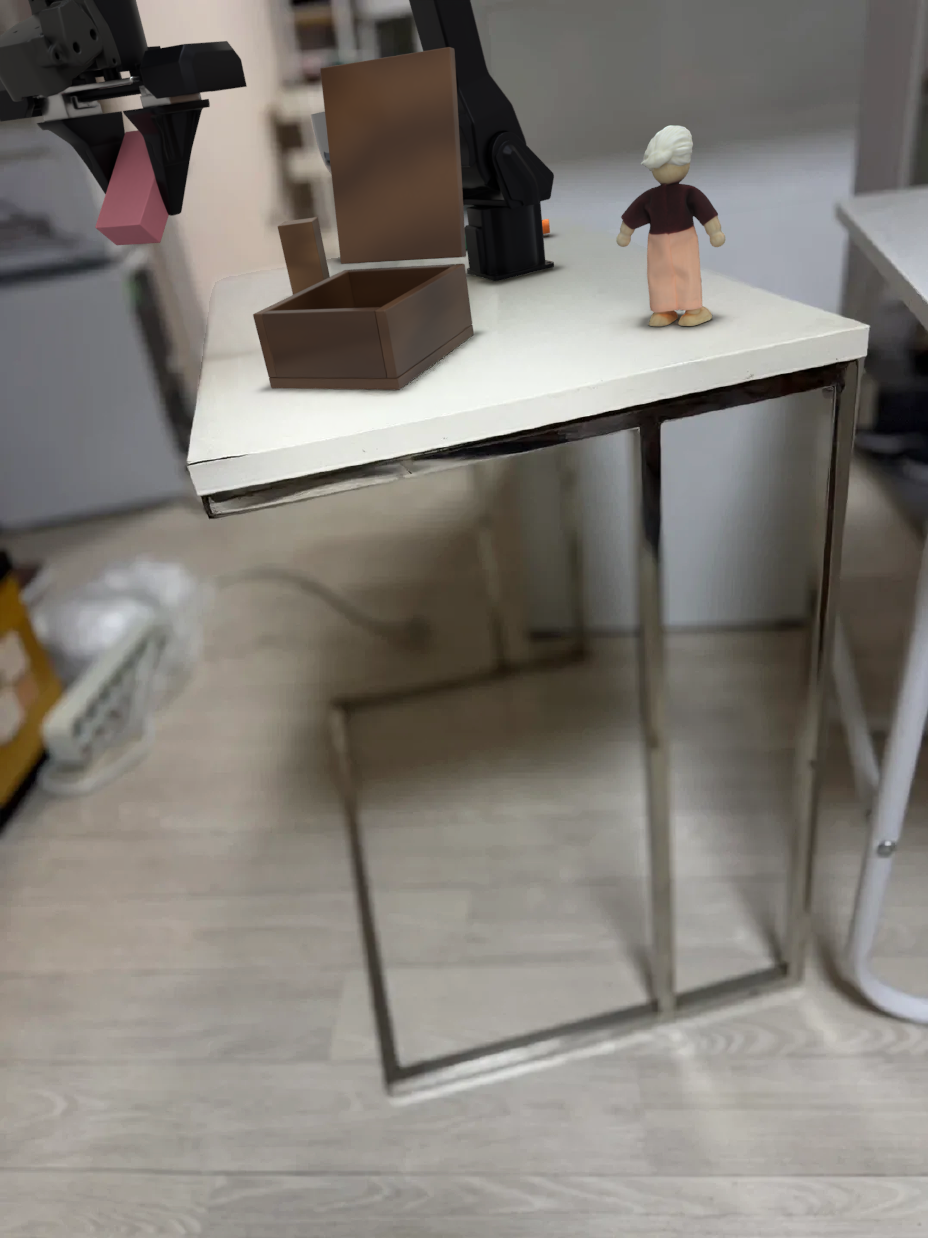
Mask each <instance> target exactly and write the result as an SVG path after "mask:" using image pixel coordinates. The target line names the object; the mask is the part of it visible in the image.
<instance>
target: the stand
mask: <svg viewBox="0 0 928 1238" xmlns="http://www.w3.org/2000/svg"><path fill="white" fill-rule="evenodd" d="M277 231H278V235H279V239H280V244H281V249H282V253H283V257H284V262H285V267H286V270H287V275H288V279H289V283H290V284H289V285H290V289H291V291H292V292H291V293H292V295H294V294H296V293H298V292H300V291H302V290H304V289H306V288H308V287H311V286H313V285H315V284H317V283H319V282H321V281H323V280H325V279H327V278H329V277H331V276H330V270H329V267H328V265H329V264H328V261H327V257H326V256H327V255H326V252H325V247H324V241H323V236H322V232H321V226H320V221H319V217H318V216H314V217H309V218H300V219H293V220H286V221H283V222H281V223H280V224H279V225H277Z"/></svg>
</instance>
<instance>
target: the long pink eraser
mask: <svg viewBox="0 0 928 1238" xmlns="http://www.w3.org/2000/svg"><path fill="white" fill-rule="evenodd" d="M169 216H170V215H168V213H167V211H166V208H165V205H164V203H163V200H162V198H161V195H160V192H159V189H158V185H157V182H156V179H155V175H154V172H153V168H152V165H151V162H150V158H149V155H148V151H147V148H146V144H145V140H144V138H143V136H142V134H141V133H140V132H139V131H138V129H136V130H130V131H125V135H124V138H123V142H122V145H121V148H120V151H119V154H118V157H117V160H116V163H115V167H114V170H113V173H112V176H111V179H110V182H109V185H108V189H107V192H106V195H105V194H104V198H103V202H102V204H101V208H100V211H99V214H98V217H97V220H96V223H95V227H94V228H95V229H96V230H97V231H98V232H99V233H100V234H102V235H103V236H105V238H107V239H108V240H109V241H111V242H112V243H113V244H114V245H115V246H129V245H147V244H149V245H150V244H161V243H162V239H163V235H164V232H165V229H166V227H167V222H168V219H169Z"/></svg>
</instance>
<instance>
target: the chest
mask: <svg viewBox="0 0 928 1238" xmlns="http://www.w3.org/2000/svg"><path fill="white" fill-rule="evenodd" d="M252 316H253V321H254V326H255V328H256V333H257V337H258V340H259V345H260V349H261V352H262V356H263V361H264V364H265V369H266V373H267V377H268V381H269V384H270V388H271V389H288V390H289V389H290V390H291V389H292V390H293V389H294V390H298V389H299V390H300V389H301V390H377V391H378V390H382V391H383V390H385V391H387V390H389V391H390V390H391V391H399V390H401V389H403V388H404V387H405V386H407V384H409V383H410V382H411V381H413V380H414V379H416V378H417V377H419V376H420V375H421V374H422V373H424V372H425V371H427V370H428V369H430V368H431V367H432V366H433V365H435V364H436V363H437V362H439V361H440V360H441V359H443V358H444V357H445V356H447V355H448V354H450V353H451V352H452V351H454V350H455V349H456V348H458V347H459V346H460V345H462V344H463V343H465V341H467V340H468V339H470V338H472V337H473V336H474V334H475V332H474V325H473V316H472V311H471V302H470V294H469V287H468V278H467V269H466V264H465V263H449V264H447V263H446V264H432V265H431V264H428V265H427V264H426V265H409V266H408V265H407V266H391V267H373V268H371V267H370V268H354V269H343V270H342V271H340V272H337V273H335V274H334V275H331V276H330V277H329V278H327V279H325V280H323V281H321V282H319V283H317V284H315V285H313V286H311V287H308V288H306V289H304V290H302V291H300V292H298V293H296V294H294V295H293V294H292V295H290V296H287V297H286V298H284V299H281V300H279V301H277V302H276V303H273V304H271V305H269V306H267V307H265V308H263V309H261V310H259V311H256V312H255V313H253V314H252Z"/></svg>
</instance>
